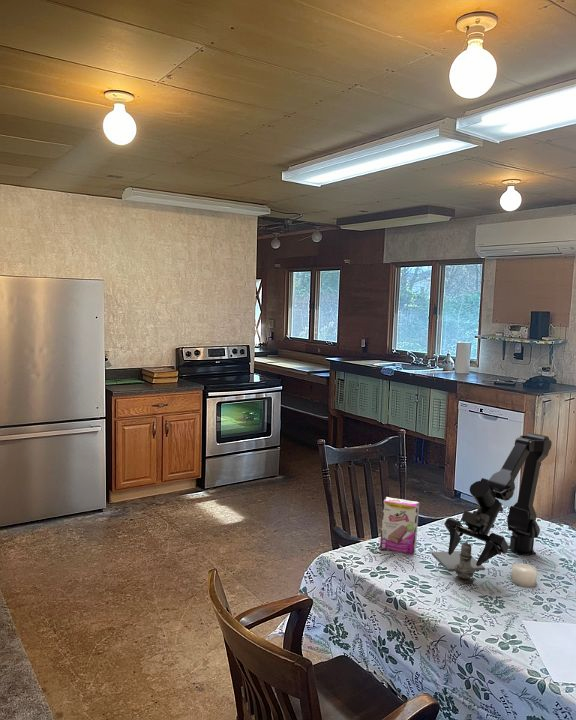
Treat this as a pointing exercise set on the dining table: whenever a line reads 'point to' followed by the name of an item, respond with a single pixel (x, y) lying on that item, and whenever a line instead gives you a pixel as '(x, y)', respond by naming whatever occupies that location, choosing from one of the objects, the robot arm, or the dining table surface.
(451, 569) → the mat
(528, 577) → the cream rounded squat cylinder
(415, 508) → the candy bar box
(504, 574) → the dining table surface
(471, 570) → the grey chess piece
